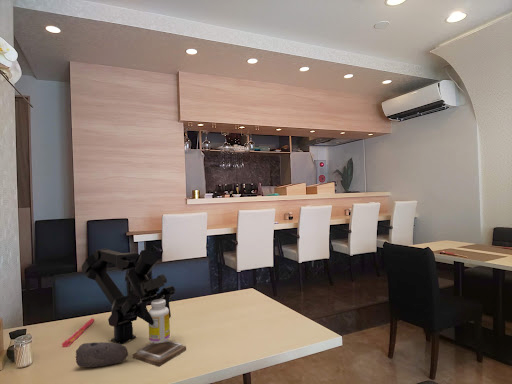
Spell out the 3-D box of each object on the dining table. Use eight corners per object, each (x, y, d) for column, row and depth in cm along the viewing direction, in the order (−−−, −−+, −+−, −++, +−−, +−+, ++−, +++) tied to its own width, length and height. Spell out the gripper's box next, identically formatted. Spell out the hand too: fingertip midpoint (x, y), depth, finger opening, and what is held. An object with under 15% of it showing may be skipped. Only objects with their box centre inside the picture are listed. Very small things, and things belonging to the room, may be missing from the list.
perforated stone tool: (130, 358, 104) (130, 336, 105) (126, 366, 99) (125, 343, 99) (81, 363, 102) (81, 341, 103) (74, 371, 97) (74, 348, 97)
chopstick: (58, 350, 114) (71, 345, 114) (56, 345, 114) (69, 340, 114) (87, 324, 138) (97, 320, 138) (85, 320, 138) (96, 316, 138)
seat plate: (132, 357, 104) (132, 351, 105) (160, 343, 115) (160, 336, 115) (159, 366, 98) (159, 359, 99) (186, 349, 109) (185, 343, 109)
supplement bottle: (167, 333, 112) (166, 296, 112) (172, 341, 106) (171, 302, 106) (147, 338, 108) (146, 300, 108) (151, 346, 102) (150, 306, 103)
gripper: (126, 274, 102) (148, 315, 95) (172, 263, 117) (194, 298, 111) (112, 294, 106) (132, 336, 100) (158, 282, 122) (178, 317, 115)
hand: (161, 320), depth 106 cm, fingers closed on supplement bottle, 7 cm apart
